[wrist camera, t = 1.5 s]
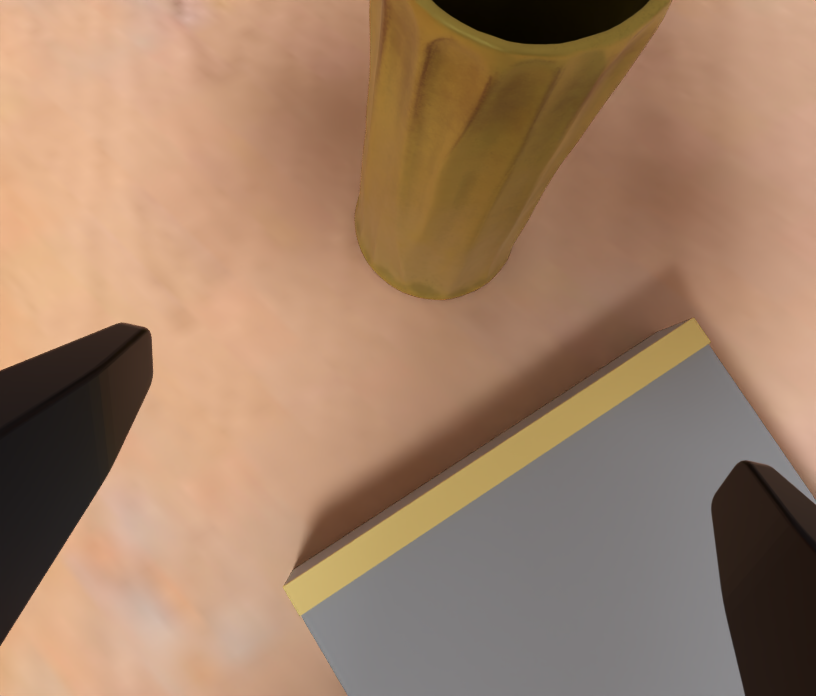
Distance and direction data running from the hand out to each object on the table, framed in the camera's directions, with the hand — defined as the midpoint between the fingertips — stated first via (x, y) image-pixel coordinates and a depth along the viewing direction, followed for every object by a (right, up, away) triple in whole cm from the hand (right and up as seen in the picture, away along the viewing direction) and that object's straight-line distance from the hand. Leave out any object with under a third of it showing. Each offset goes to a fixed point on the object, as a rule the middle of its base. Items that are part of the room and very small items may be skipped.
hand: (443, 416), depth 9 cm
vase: (+1, +6, +15) cm, 16 cm away
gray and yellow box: (+5, -8, +13) cm, 16 cm away
